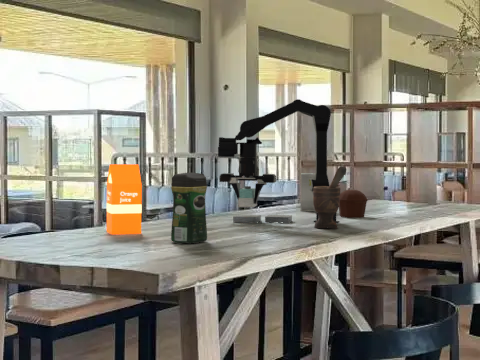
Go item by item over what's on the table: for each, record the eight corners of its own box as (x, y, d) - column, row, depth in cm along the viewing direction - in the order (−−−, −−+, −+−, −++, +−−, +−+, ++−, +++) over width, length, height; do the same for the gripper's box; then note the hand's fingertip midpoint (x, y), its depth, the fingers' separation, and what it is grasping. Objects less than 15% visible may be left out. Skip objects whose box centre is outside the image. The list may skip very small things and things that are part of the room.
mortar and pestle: (352, 228, 250) (353, 165, 249) (342, 230, 243) (343, 166, 242) (319, 226, 256) (320, 164, 255) (308, 228, 248) (309, 165, 247)
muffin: (373, 217, 289) (373, 190, 289) (346, 218, 285) (347, 191, 284) (356, 215, 300) (357, 188, 300) (331, 215, 296) (331, 189, 296)
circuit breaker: (319, 208, 327) (319, 172, 326) (319, 211, 313) (319, 174, 312) (301, 208, 328) (301, 172, 327) (300, 211, 314) (300, 173, 313)
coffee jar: (188, 239, 216) (189, 171, 215) (211, 241, 211) (212, 172, 210) (165, 242, 208) (165, 172, 207) (188, 245, 203) (189, 173, 202)
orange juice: (106, 231, 232) (106, 164, 231) (135, 230, 235) (136, 164, 235) (111, 234, 225) (112, 164, 224) (141, 233, 228) (142, 164, 227)
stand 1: (260, 220, 271) (260, 215, 271) (256, 223, 263) (256, 217, 263) (238, 220, 273) (238, 214, 273) (233, 222, 265) (233, 216, 265)
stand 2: (291, 221, 272) (291, 215, 272) (288, 223, 264) (288, 217, 264) (269, 220, 273) (269, 214, 273) (265, 222, 266) (265, 216, 266)
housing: (253, 207, 264) (253, 187, 263) (238, 206, 265) (238, 186, 264) (256, 205, 271) (256, 185, 270) (242, 205, 272) (242, 185, 271)
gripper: (278, 157, 273) (278, 202, 274) (226, 157, 277) (226, 201, 277) (273, 158, 262) (273, 204, 263) (219, 157, 266) (218, 203, 266)
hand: (247, 203), depth 268 cm, fingers closed on housing, 5 cm apart
